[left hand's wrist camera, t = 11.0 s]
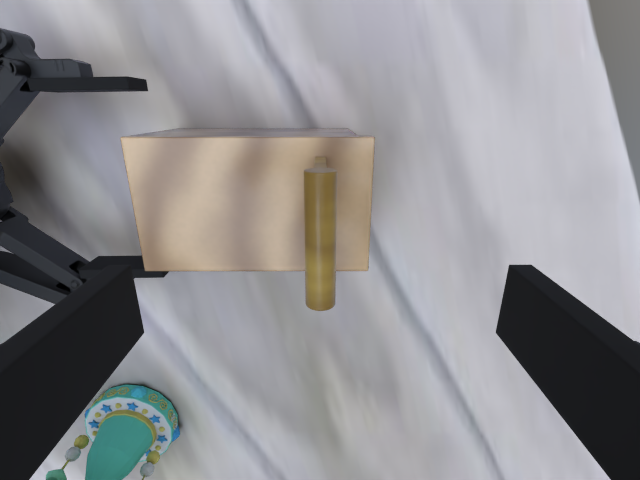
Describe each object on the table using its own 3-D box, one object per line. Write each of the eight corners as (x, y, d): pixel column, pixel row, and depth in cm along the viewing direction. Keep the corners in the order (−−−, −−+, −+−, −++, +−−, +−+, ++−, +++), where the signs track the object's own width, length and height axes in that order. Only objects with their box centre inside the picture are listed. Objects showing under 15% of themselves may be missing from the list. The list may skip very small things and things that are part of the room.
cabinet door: (372, 135, 24) (398, 149, 16) (366, 265, 27) (385, 328, 19) (128, 135, 24) (36, 149, 16) (151, 265, 27) (83, 328, 19)
